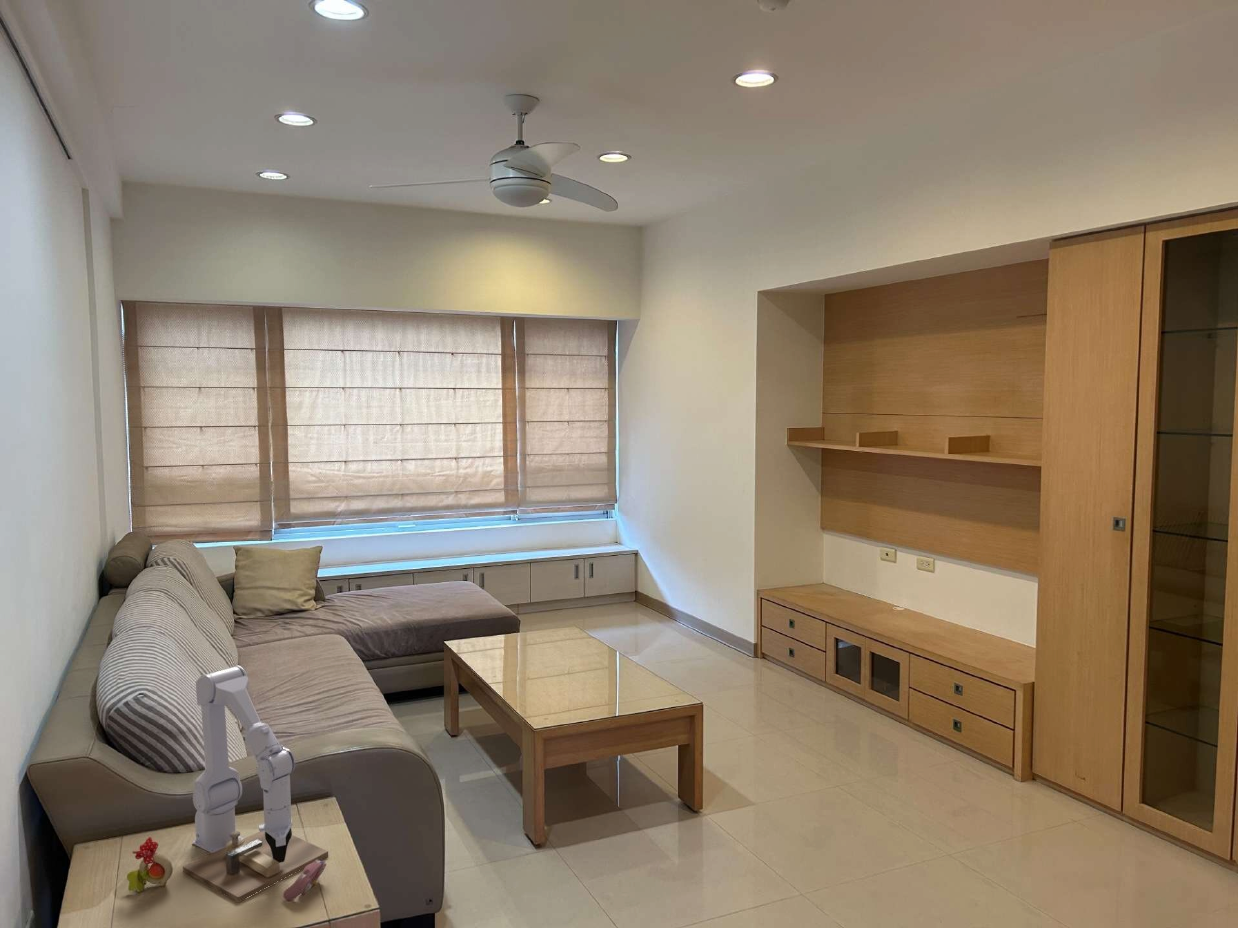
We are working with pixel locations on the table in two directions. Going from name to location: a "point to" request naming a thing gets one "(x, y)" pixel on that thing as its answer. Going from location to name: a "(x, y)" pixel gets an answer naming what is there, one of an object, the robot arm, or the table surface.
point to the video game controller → (305, 880)
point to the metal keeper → (234, 855)
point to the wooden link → (253, 857)
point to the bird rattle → (156, 872)
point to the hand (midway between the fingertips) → (279, 861)
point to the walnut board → (248, 879)
